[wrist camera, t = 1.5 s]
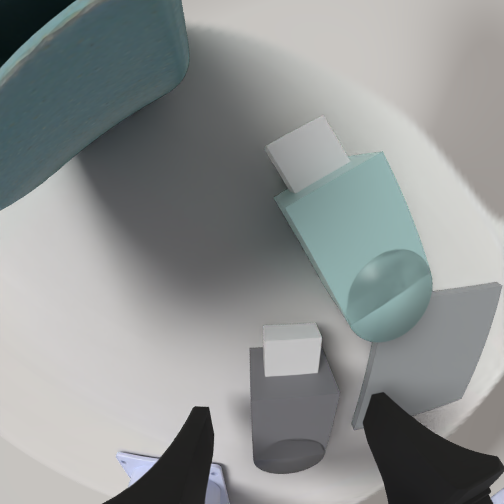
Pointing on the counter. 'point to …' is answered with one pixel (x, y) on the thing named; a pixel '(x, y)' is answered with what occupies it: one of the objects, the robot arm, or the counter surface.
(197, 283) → the counter surface
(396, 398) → the coaster
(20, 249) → the counter surface
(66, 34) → the flower pot
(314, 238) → the teal plug
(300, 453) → the white-capped grey post
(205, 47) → the counter surface
